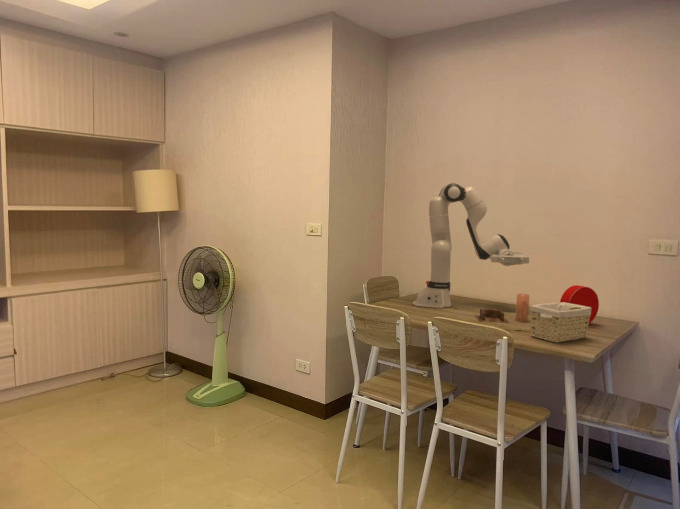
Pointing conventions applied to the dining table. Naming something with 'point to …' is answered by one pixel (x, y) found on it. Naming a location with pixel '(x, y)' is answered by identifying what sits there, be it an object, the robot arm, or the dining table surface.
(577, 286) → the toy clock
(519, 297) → the orange rectangular block
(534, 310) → the storage basket
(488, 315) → the walnut stand
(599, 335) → the dining table surface
